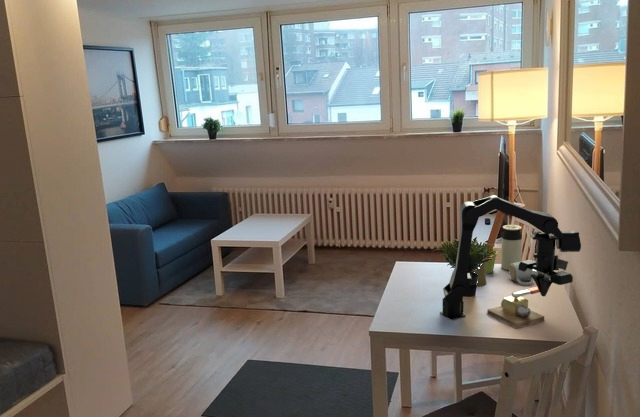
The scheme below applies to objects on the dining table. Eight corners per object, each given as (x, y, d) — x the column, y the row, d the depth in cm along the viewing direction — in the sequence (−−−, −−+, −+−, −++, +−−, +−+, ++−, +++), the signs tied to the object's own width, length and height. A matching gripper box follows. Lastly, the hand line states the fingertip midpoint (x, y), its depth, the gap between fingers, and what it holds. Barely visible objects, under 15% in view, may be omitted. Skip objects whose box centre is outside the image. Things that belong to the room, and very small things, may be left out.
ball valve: (519, 319, 192) (520, 303, 191) (498, 309, 201) (499, 294, 200) (532, 316, 194) (533, 300, 193) (511, 306, 203) (511, 291, 202)
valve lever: (515, 298, 195) (515, 295, 195) (510, 296, 197) (510, 292, 197) (543, 291, 200) (543, 288, 200) (537, 289, 202) (537, 286, 202)
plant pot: (477, 275, 240) (477, 255, 238) (471, 268, 249) (471, 248, 247) (500, 274, 240) (500, 254, 238) (493, 267, 249) (493, 247, 248)
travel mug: (501, 270, 245) (502, 229, 241) (500, 264, 253) (501, 224, 249) (521, 271, 243) (523, 229, 239) (519, 265, 251) (521, 224, 247)
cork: (487, 286, 228) (487, 259, 225) (471, 286, 229) (471, 259, 226) (485, 281, 233) (486, 254, 231) (470, 280, 235) (470, 254, 232)
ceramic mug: (507, 277, 237) (508, 259, 235) (527, 276, 237) (528, 258, 235) (517, 286, 226) (517, 268, 224) (537, 285, 226) (538, 267, 225)
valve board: (516, 328, 190) (516, 323, 189) (487, 313, 202) (487, 309, 202) (544, 320, 194) (544, 316, 194) (514, 306, 207) (514, 302, 206)
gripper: (586, 254, 188) (583, 300, 191) (542, 241, 205) (540, 283, 208) (560, 260, 183) (558, 307, 187) (518, 246, 200) (516, 289, 203)
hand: (543, 296), depth 196 cm, fingers closed
